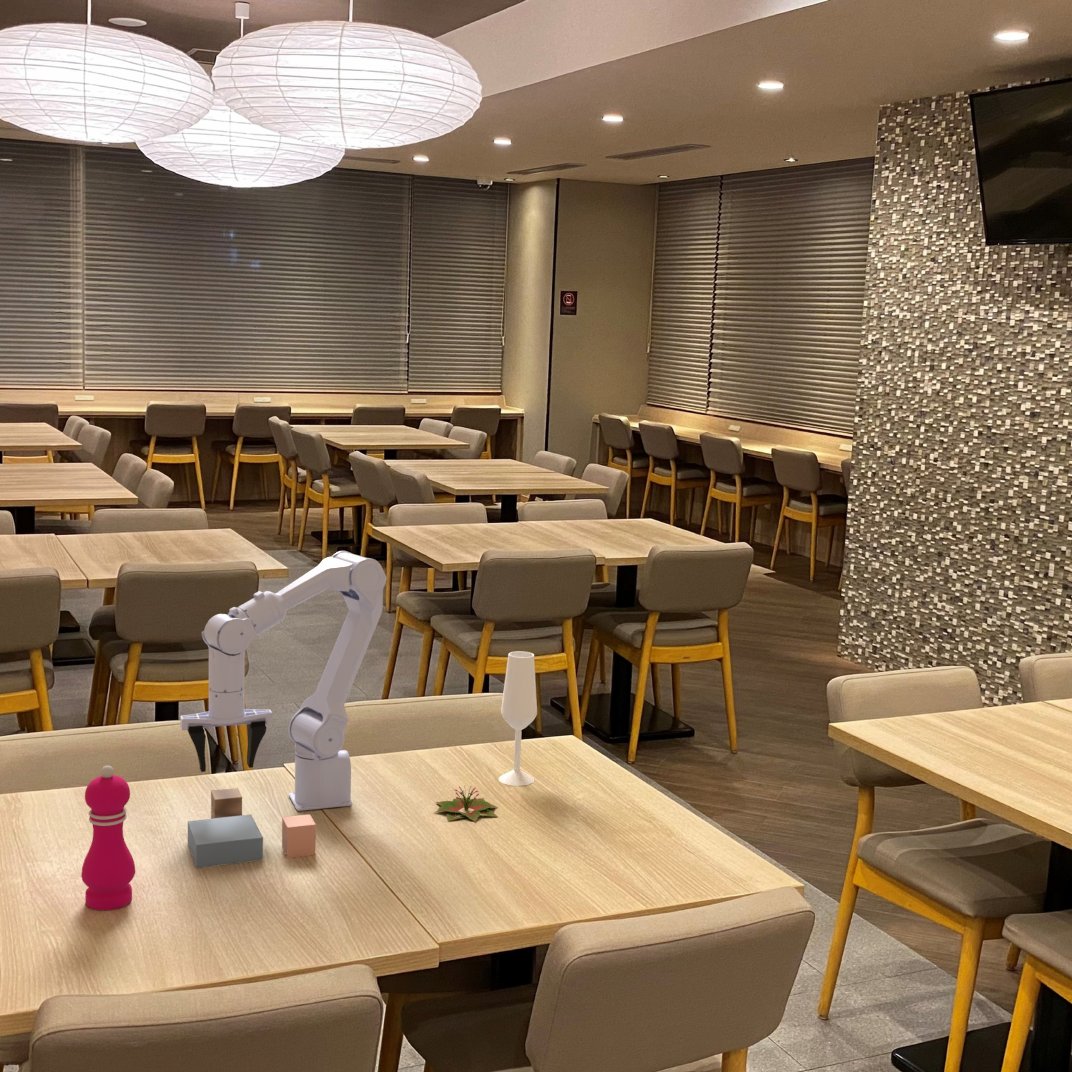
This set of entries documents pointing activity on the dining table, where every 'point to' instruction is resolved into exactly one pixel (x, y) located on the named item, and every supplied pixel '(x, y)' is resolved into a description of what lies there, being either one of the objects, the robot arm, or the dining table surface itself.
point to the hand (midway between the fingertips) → (226, 767)
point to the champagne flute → (519, 707)
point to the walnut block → (226, 803)
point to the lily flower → (466, 806)
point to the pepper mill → (108, 844)
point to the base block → (225, 841)
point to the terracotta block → (298, 835)
